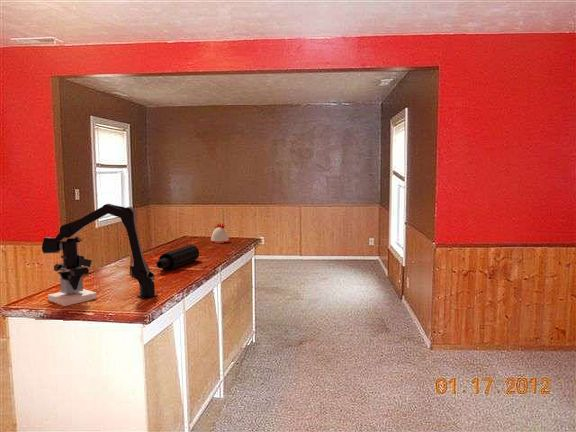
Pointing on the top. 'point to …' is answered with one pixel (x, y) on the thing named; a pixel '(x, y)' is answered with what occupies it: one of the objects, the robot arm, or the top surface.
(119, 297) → the top surface
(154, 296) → the robot arm
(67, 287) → the block
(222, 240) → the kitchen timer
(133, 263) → the ammunition clip
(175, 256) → the roller
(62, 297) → the board
